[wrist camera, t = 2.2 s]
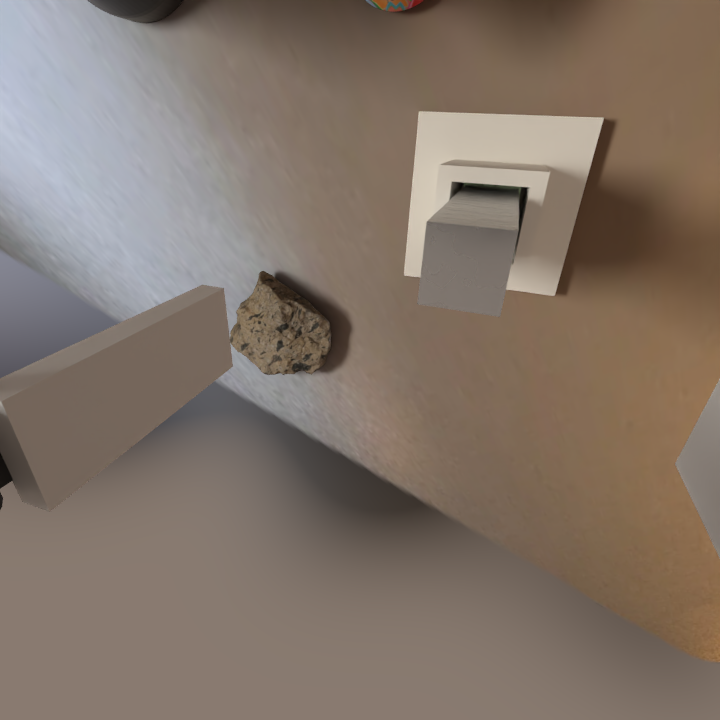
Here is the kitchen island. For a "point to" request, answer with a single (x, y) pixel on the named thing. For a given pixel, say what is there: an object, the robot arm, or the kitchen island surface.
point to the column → (470, 249)
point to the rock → (280, 330)
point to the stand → (506, 182)
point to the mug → (394, 4)
